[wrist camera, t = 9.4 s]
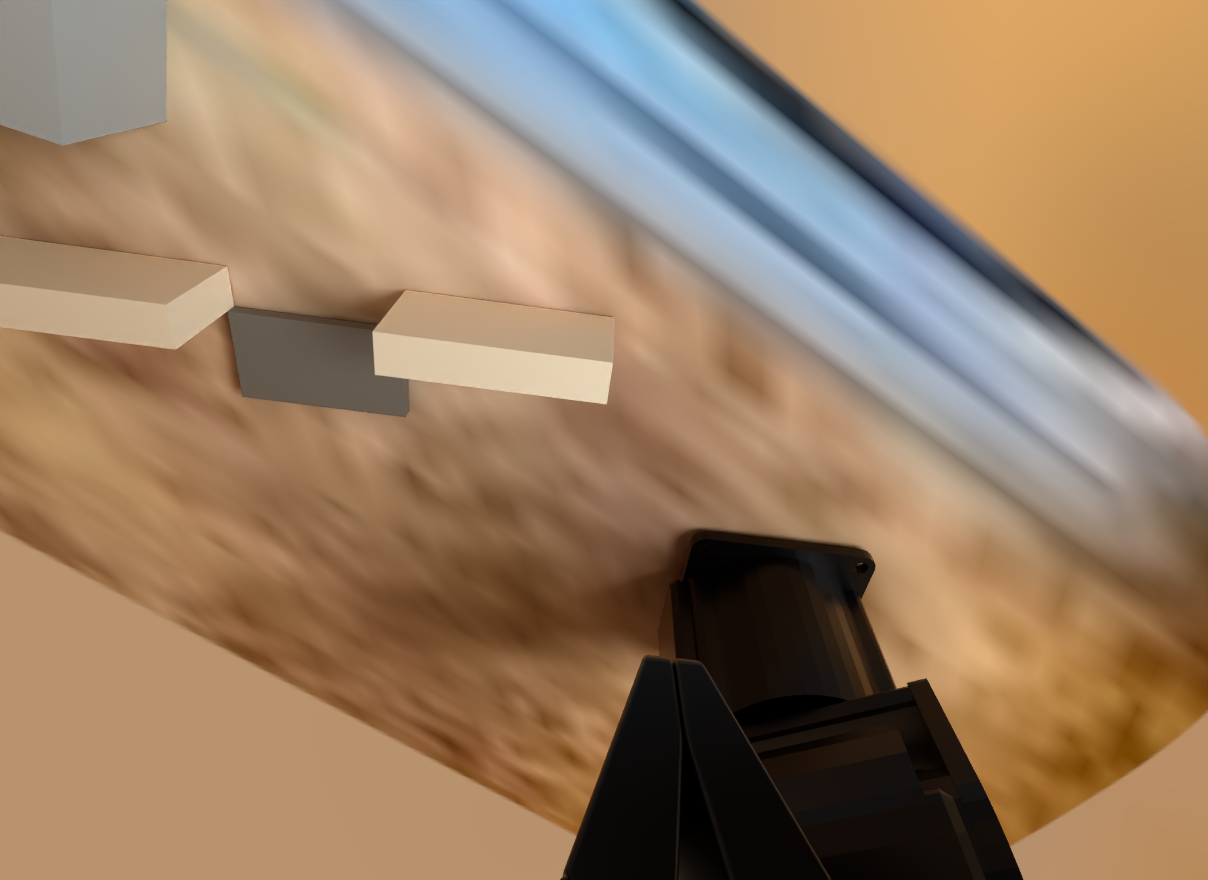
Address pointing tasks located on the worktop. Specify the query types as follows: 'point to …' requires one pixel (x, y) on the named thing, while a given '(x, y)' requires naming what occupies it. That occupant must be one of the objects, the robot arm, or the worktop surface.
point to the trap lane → (400, 341)
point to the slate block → (82, 67)
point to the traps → (312, 362)
